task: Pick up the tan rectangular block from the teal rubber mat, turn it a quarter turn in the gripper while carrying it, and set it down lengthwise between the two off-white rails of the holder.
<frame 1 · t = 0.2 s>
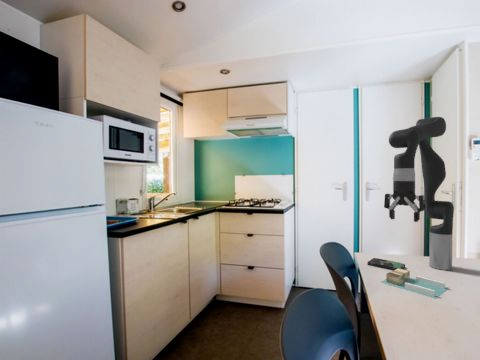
hand: (403, 220, 108), 28 cm above the table, tool pointing down, fingers open, 8 cm apart
rubber mat: (413, 286, 112), on the table
tan rectangular block: (398, 280, 117), resting on rubber mat
disk drive: (386, 268, 136), on the table
rail holder: (424, 289, 109), resting on rubber mat
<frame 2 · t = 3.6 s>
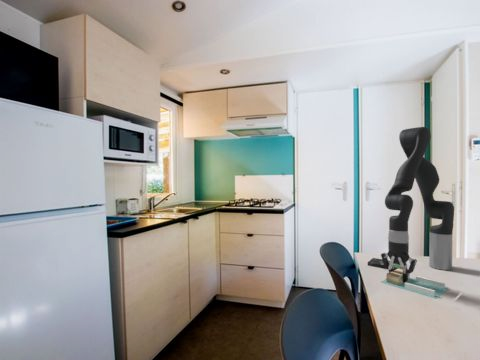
hand: (398, 279, 117), 1 cm above the table, tool pointing down, fingers closed on tan rectangular block, 4 cm apart
tan rectangular block: (398, 280, 117), point 1 cm above the table, touching gripper, rubber mat
everything else where it was.
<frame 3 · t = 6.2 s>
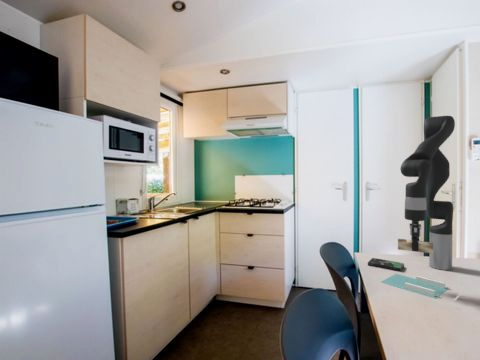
hand: (415, 249, 112), 15 cm above the table, tool pointing down, fingers closed on tan rectangular block, 4 cm apart
tan rectangular block: (414, 250, 112), point 15 cm above the table, touching gripper
everything else where it was.
when the fingers open (3 cm above the table, at t = 9.0 s): tan rectangular block drops 2 cm, resting on rubber mat.
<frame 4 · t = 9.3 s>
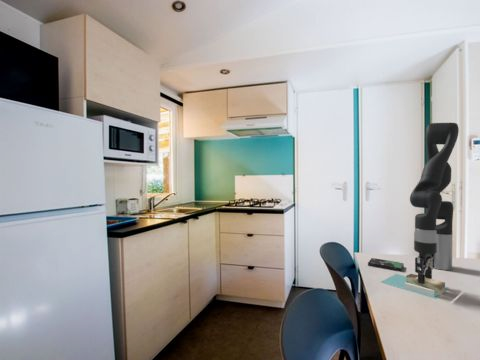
hand: (424, 280, 109), 3 cm above the table, tool pointing down, fingers open, 7 cm apart
tan rectangular block: (425, 287, 109), resting on rubber mat
everything else where it was.
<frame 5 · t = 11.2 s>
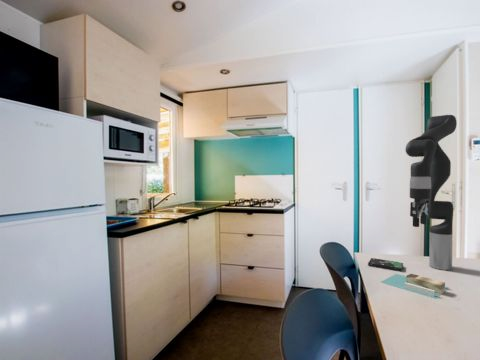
hand: (419, 225, 115), 25 cm above the table, tool pointing down, fingers open, 8 cm apart
nothing on the table moved.
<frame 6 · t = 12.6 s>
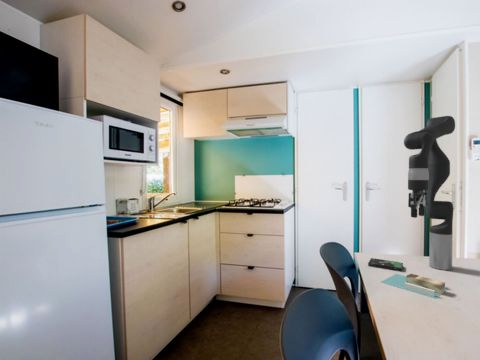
hand: (417, 216, 117), 28 cm above the table, tool pointing down, fingers open, 8 cm apart
nothing on the table moved.
at the end: tan rectangular block inside the target area (0.2 cm from its centre), point 0.5 cm above the table; tan rectangular block tilted 0°; the gripper is holding nothing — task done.
